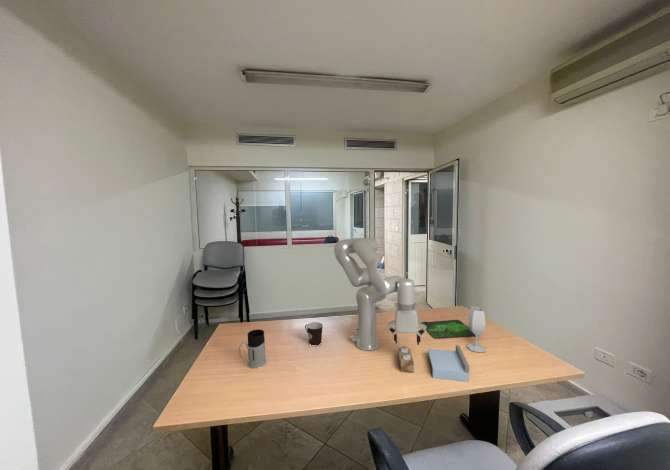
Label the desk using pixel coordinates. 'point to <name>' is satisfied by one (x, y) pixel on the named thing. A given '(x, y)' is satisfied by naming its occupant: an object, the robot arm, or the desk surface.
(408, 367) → the brown block with knobs
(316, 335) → the coffee mug
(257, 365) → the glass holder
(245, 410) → the desk surface
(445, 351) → the shelf
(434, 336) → the mouse mat
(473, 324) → the wineglass
